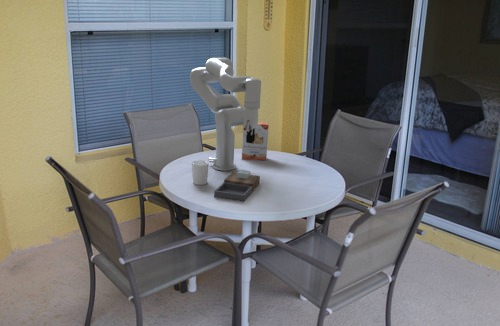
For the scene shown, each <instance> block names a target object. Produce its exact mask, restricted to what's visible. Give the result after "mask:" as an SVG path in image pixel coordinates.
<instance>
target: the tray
mask: <svg viewBox="0 0 500 326" xmlns="http://www.w3.org/2000/svg"><path fill="white" fill-rule="evenodd" d="M252 193H253V192H252V186H246V185H239V184H232V183H225V182H224V181H223V182H222V183H221V184H220V185H219V186H218V187H217V188H216V189H215V190H214V192H213V195H214V196H213V197H214V198H217V199H223V200H229V201H236V202H242V203H245V201H246V200H247V199H248V198H249V197H250V196H251V194H252Z"/></svg>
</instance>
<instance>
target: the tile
mask: <svg viewBox="0 0 500 326" xmlns="http://www.w3.org/2000/svg"><path fill="white" fill-rule="evenodd" d="M236 173H237V178H244V179H247V178H248V177H249V176H250V175H251V170H245V169H239V170H238V171H237V172H236Z"/></svg>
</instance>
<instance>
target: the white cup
mask: <svg viewBox="0 0 500 326" xmlns="http://www.w3.org/2000/svg"><path fill="white" fill-rule="evenodd" d="M209 163H210V162H209V161H206V160H194V161H192V162H191V172H192V183H193V184H194V185H197V186H203V185H206V184H207V183H208V176H209Z"/></svg>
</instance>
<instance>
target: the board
mask: <svg viewBox="0 0 500 326" xmlns="http://www.w3.org/2000/svg"><path fill="white" fill-rule="evenodd" d="M260 179H261V176H260V175H256V174H255V175H254V174H250V176H249V177H248V178H247V179H244V178H237V172H233V171H232V172H231V173H230V174H229V175H228V176H227V177H226V178H224V181H223V182H225V183H232V184H239V185H246V186H252V193H253V192H254V191H255V190H256V189H257V188H258V186H259V185H260V181H261V180H260Z"/></svg>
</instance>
